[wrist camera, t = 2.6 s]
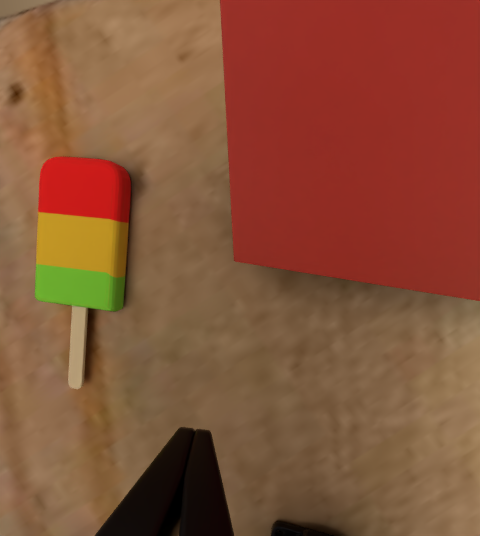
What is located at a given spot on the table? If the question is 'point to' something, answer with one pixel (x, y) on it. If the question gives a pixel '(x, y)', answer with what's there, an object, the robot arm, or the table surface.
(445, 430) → the table surface
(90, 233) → the popsicle
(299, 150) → the lid
